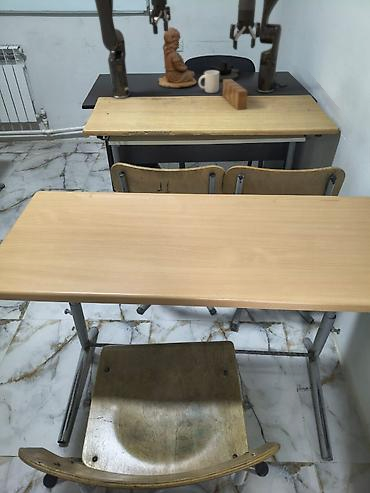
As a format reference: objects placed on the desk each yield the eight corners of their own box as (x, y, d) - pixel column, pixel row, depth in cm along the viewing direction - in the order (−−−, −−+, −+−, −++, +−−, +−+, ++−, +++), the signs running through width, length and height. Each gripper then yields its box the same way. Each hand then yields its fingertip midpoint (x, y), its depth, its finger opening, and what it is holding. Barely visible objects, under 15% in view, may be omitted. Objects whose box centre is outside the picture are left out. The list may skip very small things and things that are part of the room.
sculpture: (197, 88, 213) (196, 30, 194) (156, 89, 214) (152, 31, 194) (196, 75, 234) (196, 22, 215) (159, 76, 235) (156, 23, 215)
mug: (199, 94, 205) (199, 75, 198) (197, 89, 211) (197, 71, 204) (220, 92, 206) (220, 73, 199) (217, 88, 212) (217, 69, 205)
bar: (222, 95, 202) (222, 79, 197) (230, 94, 203) (230, 78, 198) (237, 109, 185) (238, 92, 179) (246, 108, 185) (247, 91, 180)
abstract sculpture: (206, 66, 216) (199, 58, 231) (206, 82, 222) (199, 74, 237) (246, 63, 219) (237, 56, 234) (245, 79, 224) (236, 71, 240)
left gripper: (155, -5, 162) (158, 35, 173) (173, -9, 171) (175, 30, 182) (142, -6, 166) (146, 34, 176) (161, -9, 175) (163, 29, 185)
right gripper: (234, 10, 155) (232, 51, 166) (265, 7, 158) (261, 49, 168) (228, 7, 161) (226, 48, 171) (258, 5, 163) (254, 45, 174)
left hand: (161, 32), depth 179 cm, fingers open, 8 cm apart
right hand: (243, 48), depth 170 cm, fingers open, 8 cm apart
